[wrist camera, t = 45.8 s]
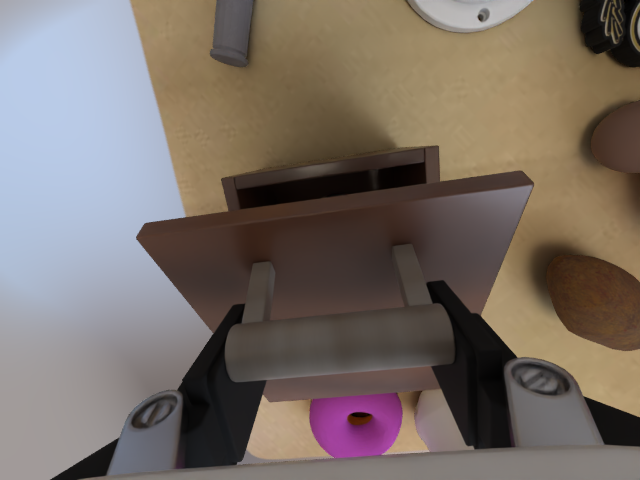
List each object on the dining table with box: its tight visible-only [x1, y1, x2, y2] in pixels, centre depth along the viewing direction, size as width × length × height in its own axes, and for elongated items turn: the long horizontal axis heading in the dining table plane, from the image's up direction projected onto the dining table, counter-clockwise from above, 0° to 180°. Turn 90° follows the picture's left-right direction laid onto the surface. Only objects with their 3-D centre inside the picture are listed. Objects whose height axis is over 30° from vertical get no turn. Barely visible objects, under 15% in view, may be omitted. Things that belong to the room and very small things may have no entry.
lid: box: [136, 171, 534, 402], centre depth 14 cm, size 16×13×5 cm
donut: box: [309, 393, 402, 458], centre depth 33 cm, size 10×10×5 cm
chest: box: [221, 146, 440, 211], centre depth 24 cm, size 16×13×11 cm
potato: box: [546, 254, 640, 351], centre depth 26 cm, size 7×12×7 cm, turn 57°
